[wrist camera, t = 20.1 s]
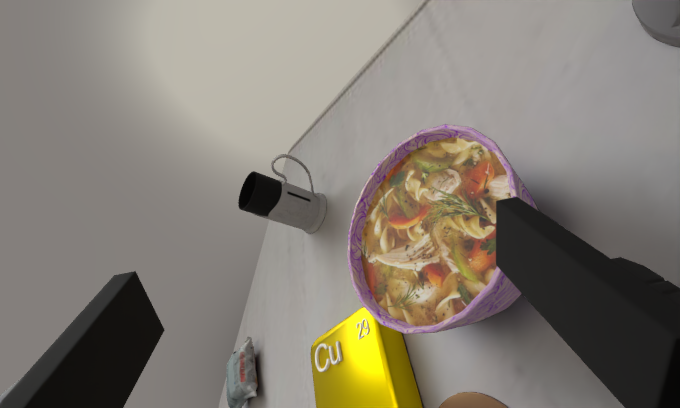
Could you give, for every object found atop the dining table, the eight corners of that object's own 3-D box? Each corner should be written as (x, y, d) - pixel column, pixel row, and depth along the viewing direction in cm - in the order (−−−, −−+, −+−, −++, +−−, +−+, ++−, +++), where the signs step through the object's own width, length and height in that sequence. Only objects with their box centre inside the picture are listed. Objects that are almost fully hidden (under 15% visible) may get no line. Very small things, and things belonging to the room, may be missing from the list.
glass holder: (299, 214, 77) (235, 193, 69) (334, 165, 71) (269, 136, 63) (307, 242, 71) (238, 222, 63) (346, 191, 65) (275, 161, 57)
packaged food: (260, 337, 75) (238, 335, 72) (265, 395, 66) (240, 395, 63) (243, 357, 78) (221, 356, 76) (245, 414, 70) (221, 415, 67)
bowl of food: (404, 212, 51) (342, 187, 45) (538, 133, 38) (477, 81, 32) (429, 359, 40) (353, 353, 34) (628, 319, 27) (563, 297, 21)
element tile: (347, 461, 45) (317, 465, 43) (330, 345, 55) (305, 343, 52) (432, 433, 37) (401, 436, 35) (394, 304, 47) (368, 298, 44)
